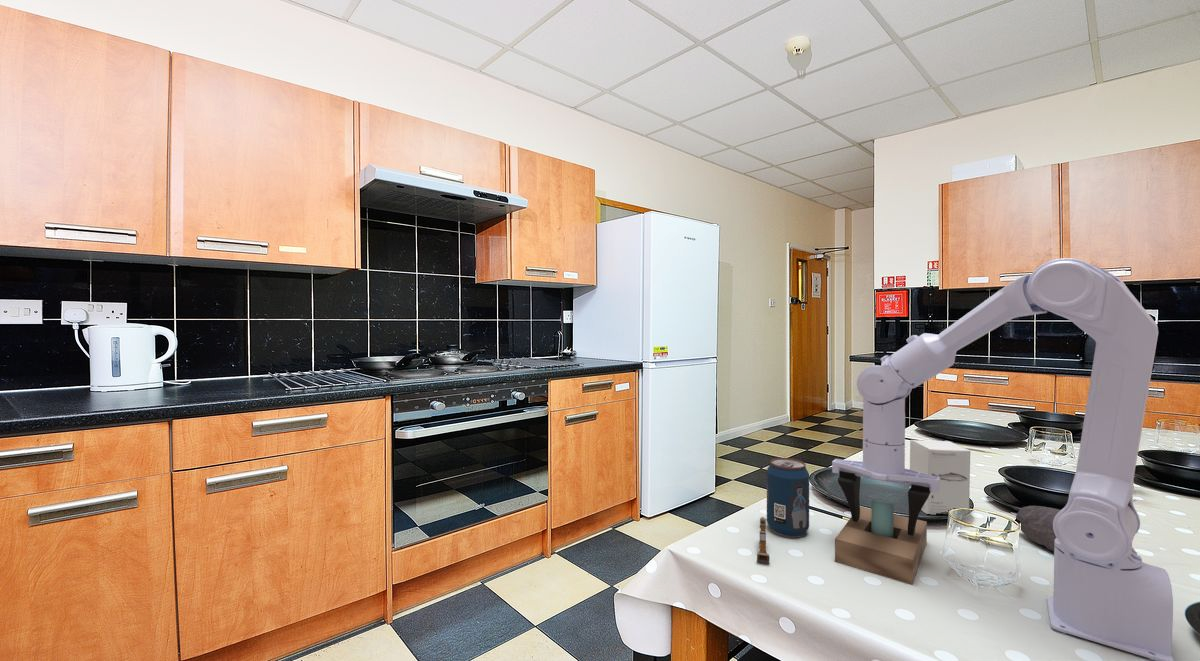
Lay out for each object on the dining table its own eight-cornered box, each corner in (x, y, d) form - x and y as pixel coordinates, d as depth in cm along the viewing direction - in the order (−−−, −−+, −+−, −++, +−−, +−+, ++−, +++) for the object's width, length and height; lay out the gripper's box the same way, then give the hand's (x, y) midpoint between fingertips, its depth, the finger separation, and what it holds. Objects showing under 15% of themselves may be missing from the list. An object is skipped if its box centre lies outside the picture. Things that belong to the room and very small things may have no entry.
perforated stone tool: (1003, 533, 82) (1004, 493, 82) (1031, 532, 82) (1032, 492, 82) (1104, 582, 67) (1105, 533, 67) (1137, 579, 67) (1138, 531, 67)
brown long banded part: (768, 534, 80) (768, 514, 78) (769, 575, 73) (769, 555, 72) (757, 532, 81) (757, 513, 79) (756, 573, 74) (756, 553, 72)
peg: (894, 551, 76) (894, 501, 76) (892, 558, 74) (892, 507, 73) (872, 545, 78) (873, 497, 78) (869, 553, 75) (870, 502, 75)
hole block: (926, 542, 79) (926, 521, 78) (912, 584, 66) (912, 559, 66) (859, 525, 85) (859, 506, 85) (834, 561, 73) (835, 538, 73)
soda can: (776, 518, 88) (776, 454, 88) (815, 529, 84) (815, 462, 83) (759, 530, 83) (759, 462, 83) (799, 543, 79) (800, 471, 78)
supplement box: (926, 515, 89) (927, 448, 89) (908, 500, 97) (908, 438, 96) (970, 518, 88) (971, 450, 88) (948, 502, 95) (949, 440, 95)
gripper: (827, 438, 77) (826, 521, 77) (936, 455, 67) (935, 549, 68) (838, 430, 82) (838, 508, 83) (941, 444, 73) (940, 532, 73)
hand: (882, 526), depth 76 cm, fingers open, 7 cm apart
